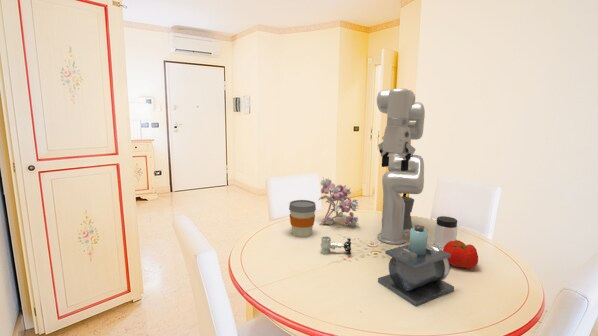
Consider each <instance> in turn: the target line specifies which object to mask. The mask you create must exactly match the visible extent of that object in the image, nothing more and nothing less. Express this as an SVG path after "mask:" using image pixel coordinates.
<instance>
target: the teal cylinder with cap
mask: <svg viewBox="0 0 598 336" xmlns="http://www.w3.org/2000/svg"><path fill="white" fill-rule="evenodd" d="M428 234H429V233H428V230H427V229H426V228H425V227H424V225H419V224H417V225H414V227H412V228H411V229H410V232H409V243H408V245H409V251H411V252H413V253H415V254H417V255H419V256H422V255H425V254H426V246H427V244H428Z"/></svg>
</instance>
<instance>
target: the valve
mask: <svg viewBox="0 0 598 336" xmlns="http://www.w3.org/2000/svg"><path fill="white" fill-rule="evenodd" d="M320 239H321V243H320V253H321V254H322V255H330V254H331V250H335V249H337V248H338V249H342V248H343V249H344V250H345V252H347V253H346V254H348V255H352V254H351V251H352V246H351V245H352V242H351V238H347V240H346V241H345V242H344V243H343V244H342V243H338V244H337V243H336V242H335V241H332V238H331V237H330V236H327V235H326V236H325V235H324V236H322V237H321V238H320Z"/></svg>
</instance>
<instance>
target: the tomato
mask: <svg viewBox="0 0 598 336" xmlns="http://www.w3.org/2000/svg"><path fill="white" fill-rule="evenodd" d="M442 249H443V250H442V251H444V252H447V253H449V254H451V257H449V258H447V259H448V262H449V265H451V266H454V267H458V268H460V267H463V268H464V269H473V268H474V267H476V266H477V265H478V263H479V255H478V251H477V248H476V247H475V245H472V244H465V243H464V242H463V241H461V240H460V239H459V240H458V239H456V240H455V241H449V242H448V243H447V244H446V245H445V246H444V248H442Z"/></svg>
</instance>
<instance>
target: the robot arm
mask: <svg viewBox="0 0 598 336" xmlns="http://www.w3.org/2000/svg"><path fill="white" fill-rule="evenodd" d="M376 106H377V108H378V110H379V112H380V113H382V114H387V115H386V126H385V128H384V131H383V132H384V133H383V138H382V139H383V140H382V142H381V143H379V144H378V145H377V146H378V150H379V153H380V156H381V168H384V167H385V168H387V170H388V171H386V172H385V173H383V175H382V180H381V182H382V194H383V195H382V196H383V197H382V214H381V216H382V217H381V231H380V232H379V233H377V239H378V240H379V241H380V242H382V243H386V244H389V245H401V244H404V243H405V242H406V241H407V237H406V236H405V235H406V234H410V230H411V229H410V230H409V229H405V230H404V229H403V224H404V210H405V202H404V200H403V198H402V197H401V196H402V195H401V194H403V193H405V194H406V195H420V194H421V193H422V192H423V190H424V186H425V185H424V184H425V162H424V158H423V157H422V156H421V155H417V154H414V153H415V151H416V148H415V147H414V146H412V145H411V144H412V140H414V141H415V140H417V141H418V140H420V139H422V137H423V133H424V127H425V126H424V125H425V116H426V115H425V114H426V113H425V106H424V104H423V103H422V102H418V101H417V102H416V94H415V93H414V91H412V90H411V89H407V88H392V89H383V90H380V91H378V93H377V96H376Z"/></svg>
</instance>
